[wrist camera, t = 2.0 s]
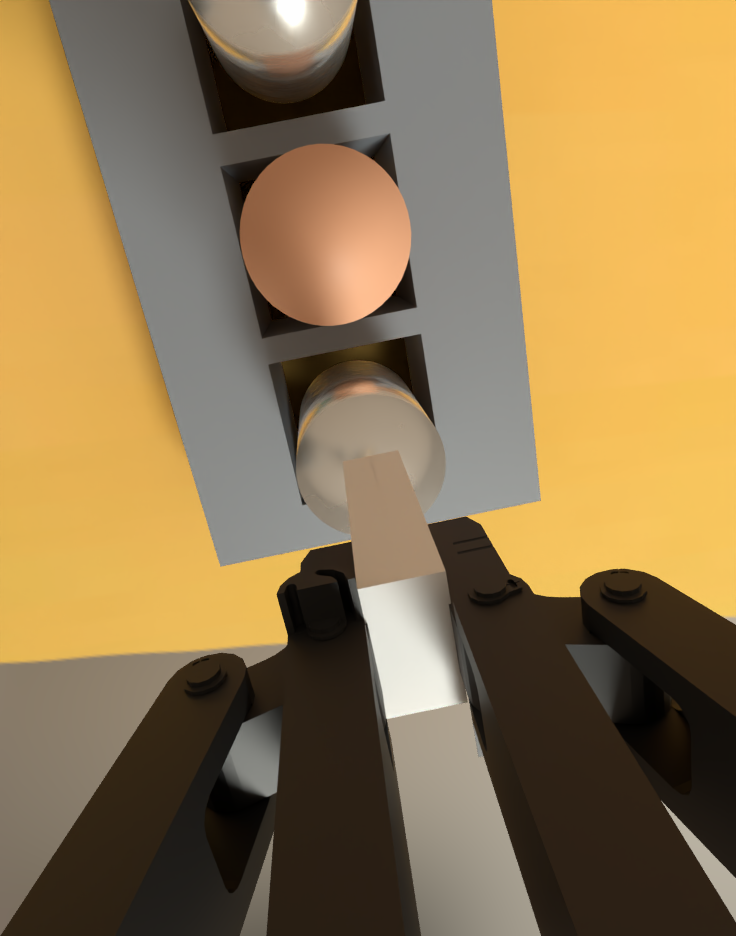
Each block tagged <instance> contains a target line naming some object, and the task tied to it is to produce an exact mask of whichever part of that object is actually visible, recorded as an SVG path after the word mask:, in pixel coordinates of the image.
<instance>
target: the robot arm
mask: <svg viewBox="0 0 736 936" xmlns="http://www.w3.org/2000/svg"><path fill="white" fill-rule="evenodd" d="M342 462H343V471H344V479H345V488H346V497H347V506H348V515H349V523H350V532H351V541H352V542H348V543H343V544H339V545H334V546H329V547H324V548H319V549H314V550H310V552H309V553H308V554H307V556H306V557H305V558H304V560H303V561H302V562H301V571H300V572H299V573H297V574H296V575H294V576H292V577H290V578H288V579H287V580H286V581H285V582H284V583H283V584H282V585H281V586H280V588H279V590H278V592H277V598H278V601H279V605H280V608H281V612H282V616H283V619H284V623H285V626H286V630H287V634H288V644H287V646H286V647H285V648H284V649H283V650H282V651H280V652H279V653H277V654H276V655H274V656H272V657H270V658H268V659H266V660H264V661H262V662H260V663H257V664H255V665H253V666H250V667H248V668H247V667H246V665H245V663H244V661H243V659H242V658H240V657H238V656H236V655H234V654H227V653H218V654H213V655H207V656H204V657H201V658H200V659H196V660H194V661H192V662H190V663H189V664H187V665H186V666H184V667H183V668H181V669H180V670H178V671H177V672H176V673H175V674H174V676H173V677H172V678H171V679H170V680H169V681H168V682H167V684H166V685H165V687H164V688H163V690H162V692H161V693H160V695H159V696H158V697H157V699H156V700H155V702H154V704H153V705H152V707H151V708H150V710H149V711H148V713H147V714H146V716H145V718H144V719H143V720H142V722H141V723H140V725H139V726H138V728H137V730H136V731H135V732H134V734H133V736H132V737H131V739H130V740H129V741H128V743H127V745H126V746H125V748H124V749H123V751H122V752H121V754H120V755H119V757H118V758H117V760H116V761H115V763H114V764H113V766H112V767H111V769H110V770H109V772H108V773H107V775H106V776H105V778H104V780H103V781H102V782H101V784H100V785H99V787H98V789H97V790H96V792H95V793H94V795H93V796H92V798H91V799H90V801H89V802H88V804H87V805H86V807H85V808H84V810H83V811H82V813H81V814H80V816H79V817H78V819H77V820H76V822H75V823H74V825H73V826H72V828H71V830H70V831H69V833H68V834H67V836H66V837H65V839H64V840H63V842H62V843H61V845H60V846H59V848H58V849H57V851H56V852H55V854H54V855H53V857H52V859H51V860H50V861H49V863H48V864H47V866H46V867H45V869H44V871H43V872H42V874H41V875H40V877H39V878H38V880H37V881H36V883H35V884H34V886H33V887H32V889H31V890H30V892H29V893H28V895H27V896H26V898H25V899H24V901H23V902H22V904H21V906H20V907H19V908H18V910H17V911H16V913H15V915H14V916H13V918H12V919H11V921H10V922H9V924H8V925H7V927H6V928H5V930H4V931H3V933H2V934H1V936H240V933H241V930H242V927H243V924H244V920H245V917H246V914H247V911H248V908H249V905H250V902H251V899H252V896H253V893H254V890H255V887H256V884H257V881H258V878H259V875H260V872H261V869H262V866H263V863H264V860H265V856H266V853H267V850H268V847H269V844H270V841H271V838H272V835H273V832H274V839H273V852H272V866H271V880H270V894H269V909H268V923H267V936H421V932H420V926H419V919H418V912H417V906H416V899H415V893H414V886H413V879H412V873H411V866H410V860H409V853H408V847H407V840H406V834H405V827H404V820H403V814H402V807H401V801H400V794H399V788H398V781H397V774H396V768H395V761H394V755H393V748H392V742H391V737H390V732H389V728H388V723H387V719H389V718H394V717H398V716H403V715H408V714H413V713H418V712H423V711H427V710H432V709H437V708H442V707H447V706H451V705H456V704H461V703H465V702H467V697H466V691H467V695H468V697H469V703H470V709H471V715H472V720H473V727H474V733H475V739H476V745H477V751H478V756H479V757H480V756H484V759H485V762H486V765H487V768H488V772H489V775H490V778H491V781H492V784H493V787H494V790H495V793H496V796H497V800H498V803H499V806H500V809H501V812H502V815H503V818H504V822H505V825H506V828H507V831H508V834H509V837H510V840H511V843H512V846H513V850H514V853H515V856H516V859H517V862H518V865H519V868H520V871H521V874H522V878H523V880H524V884H525V887H526V890H527V893H528V896H529V899H530V902H531V906H532V909H533V912H534V915H535V918H536V921H537V924H538V927H539V931H540V933H541V936H736V922H735V920H734V919H733V917H732V915H731V914H730V912H729V911H728V909H727V907H726V906H725V904H724V902H723V901H722V899H721V897H720V896H719V894H718V893H717V891H716V889H715V888H714V886H713V885H712V883H711V881H710V880H709V878H708V877H707V875H706V873H705V872H704V870H703V868H702V867H701V865H700V863H699V862H698V860H697V859H696V857H695V855H694V854H693V852H692V850H691V849H690V847H689V845H688V844H687V842H686V841H685V839H684V837H683V836H682V834H681V833H680V831H679V829H678V828H677V826H676V824H675V823H674V821H673V819H672V818H671V816H670V815H669V813H668V812H667V810H666V808H665V806H664V805H663V803H664V804H665V805H666V806H667V807H668V808H669V809H670V810H671V811H672V812H673V813H674V814H675V815H676V816H677V817H678V818H679V819H680V820H681V821H682V823H683V824H684V825H685V826H686V827H687V828H688V829H689V830H690V831H691V832H692V833H693V834H694V835H695V836H696V837H697V838H698V839H699V840H700V841H701V842H702V843H703V844H704V845H705V847H706V848H707V849H708V850H709V851H710V852H711V853H712V854H713V855H714V856H715V857H716V858H717V859H718V860H719V861H720V862H721V863H722V864H723V865H724V866H725V867H726V868H727V869H728V870H729V872H730V873H731V874H732V875H733V876H734V877H735V878H736V625H735V624H733V623H732V622H730V621H728V620H727V619H725V618H723V617H722V616H720V615H718V614H717V613H715V612H713V611H712V610H710V609H708V608H707V607H705V606H703V605H702V604H700V603H698V602H697V601H695V600H693V599H692V598H690V597H688V596H687V595H685V594H683V593H682V592H680V591H679V590H677V589H675V588H674V587H672V586H670V585H669V584H667V583H665V582H664V581H662V580H660V579H659V578H657V577H654V576H652V575H650V574H647V573H645V572H641V571H635V570H629V569H612V570H607V571H603V572H599V573H596V574H594V575H592V576H590V577H588V578H587V579H585V581H584V582H583V583H582V585H581V586H580V596H581V597H546V596H541V595H536V594H534V593H533V592H532V590H531V588H530V587H529V585H528V584H527V583H525V582H524V581H523V580H522V579H521V578H518V577H516V576H513V575H510V574H509V572H508V570H507V569H506V567H505V565H504V564H503V562H502V560H501V558H500V557H499V555H498V553H497V552H496V550H495V548H494V547H493V545H492V543H491V541H490V540H489V538H488V537H487V535H486V533H485V531H484V529H483V528H482V526H481V524H479V523H477V522H475V521H473V520H471V519H469V518H468V517H461V518H456V519H452V520H447V521H442V522H437V523H432V524H427V522H426V520H425V517H424V515H423V512H422V510H421V507H420V505H419V502H418V499H417V497H416V494H415V492H414V489H413V487H412V484H411V482H410V479H409V477H408V474H407V471H406V469H405V466H404V464H403V461H402V459H401V456H400V454H399V451H398V450H396V451H391V452H386V453H381V454H376V455H371V456H367V457H362V458H357V459H352V460H347V461H342ZM465 689H466V690H465ZM661 801H662V802H663V803H662V802H661Z"/></svg>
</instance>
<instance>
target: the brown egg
mask: <svg viewBox="0 0 736 936" xmlns="http://www.w3.org/2000/svg"><path fill="white" fill-rule="evenodd" d="M240 244H241V250H242V256H243V259H244V262H245V265H246V268H247V270H248V273H249V275H250V277H251V279H252V281H253V282H254V284H255V285H256V287H257V289H258V290H259V291H260V292H261V294H262V295H263V296H264V297H265V298H266V299H267V300H268V301H269V302H270V303H271V304H272V305H273V306H274V307H276V308H277V309H278V310H280V311H281V312H283V313H284V314H286V315H288V316H289V317H291V318H294V319H296V320H299V321H301V322H305V323H308V324H313V325H320V326H335V325H342V324H347V323H350V322H354V321H356V320H359V319H361V318H363V317H365V316H367V315H369V314H370V313H372V312H373V311H375V310H376V309H377V308H379V307H380V306H381V305H382V304H383V303H384V302H385V301H386V300H387V299H388V298H389V297H390V296H391V294H392V293H393V292H394V290H395V289H396V288H397V286H398V284H399V282H400V281H401V279H402V277H403V274H404V272H405V269H406V266H407V263H408V259H409V255H410V248H411V226H410V219H409V214H408V210H407V207H406V204H405V201H404V199H403V197H402V195H401V193H400V191H399V189H398V187H397V186H396V184H395V183H394V181H393V180H392V178H391V177H390V176H389V175H388V174H387V172H386V171H385V170H384V169H383V168H382V167H381V166H380V165H378V164H377V163H376V162H375V161H374V160H372V159H371V158H369V157H368V156H366V155H364V154H362V153H360V152H358V151H356V150H354V149H351V148H348V147H345V146H341V145H335V144H313V145H306V146H303V147H299V148H296V149H294V150H291V151H289V152H287V153H285V154H283V155H282V156H280V157H279V158H277V159H275V160H274V161H273V162H272V163H271V164H270V165H268V166H267V167H266V168H265V169H264V171H263V172H262V173H261V174H260V175H259V176H258V178H257V179H256V181H255V182H254V184H253V185H252V187H251V189H250V191H249V193H248V195H247V197H246V200H245V203H244V206H243V210H242V215H241V221H240Z"/></svg>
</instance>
